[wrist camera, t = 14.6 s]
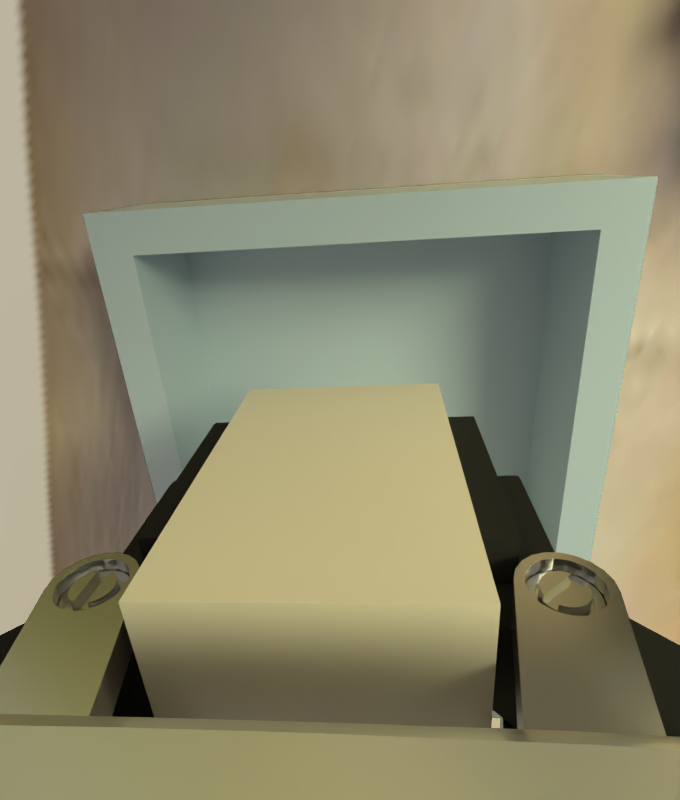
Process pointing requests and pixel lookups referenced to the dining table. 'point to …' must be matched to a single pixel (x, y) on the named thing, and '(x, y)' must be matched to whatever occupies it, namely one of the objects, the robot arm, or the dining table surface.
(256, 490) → the stone
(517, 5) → the dining table surface
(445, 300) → the blue bin
